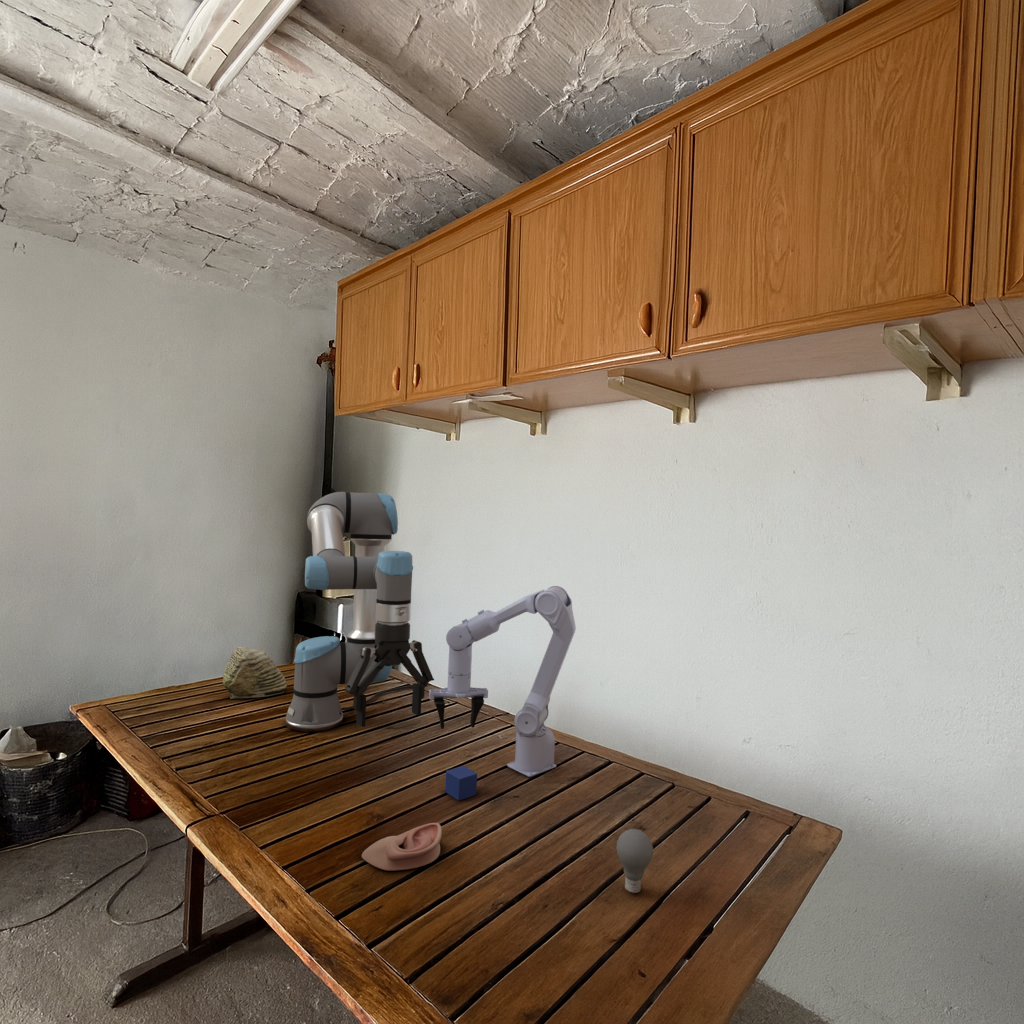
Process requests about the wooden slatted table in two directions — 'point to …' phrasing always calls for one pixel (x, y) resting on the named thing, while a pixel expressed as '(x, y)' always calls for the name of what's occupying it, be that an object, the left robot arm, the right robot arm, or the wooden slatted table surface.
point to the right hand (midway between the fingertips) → (457, 726)
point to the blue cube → (461, 783)
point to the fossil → (252, 674)
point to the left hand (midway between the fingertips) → (389, 719)
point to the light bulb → (634, 857)
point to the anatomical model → (406, 849)
